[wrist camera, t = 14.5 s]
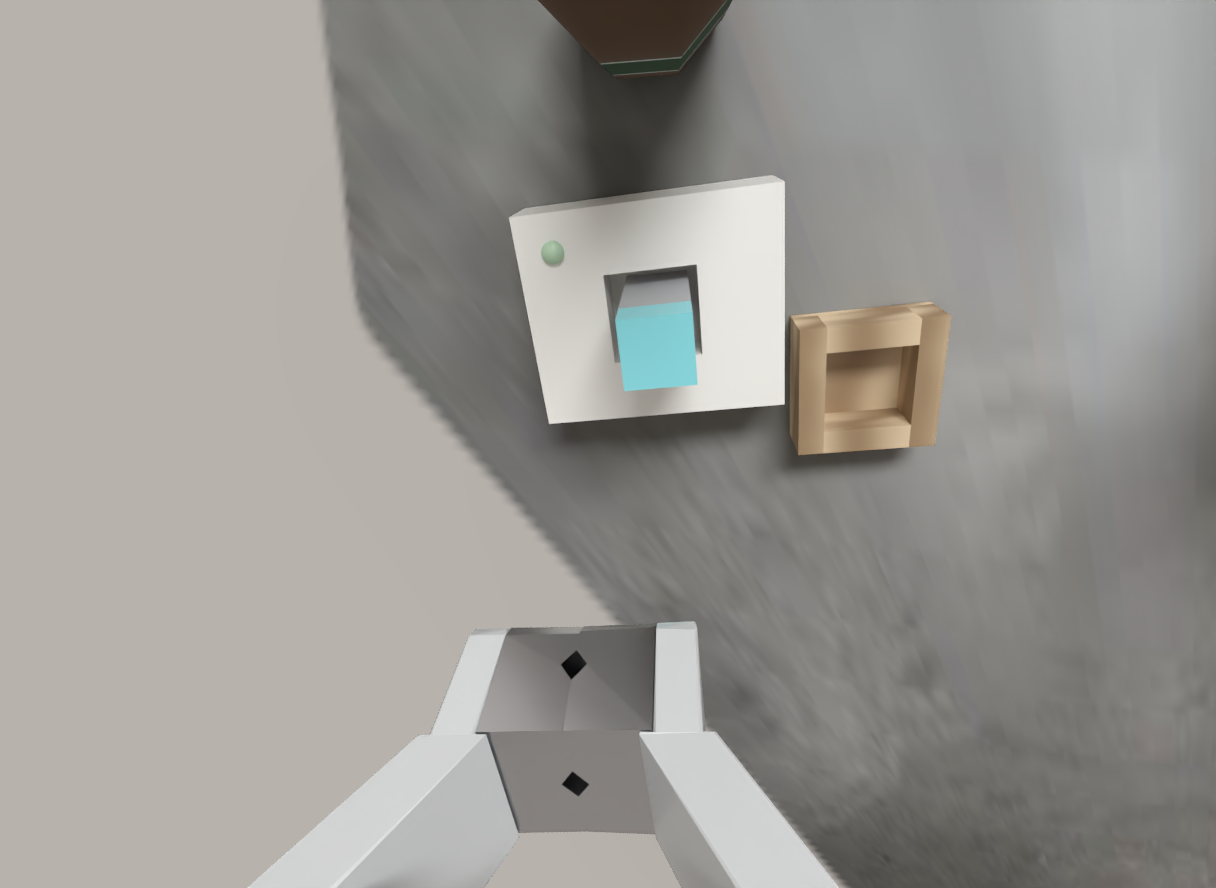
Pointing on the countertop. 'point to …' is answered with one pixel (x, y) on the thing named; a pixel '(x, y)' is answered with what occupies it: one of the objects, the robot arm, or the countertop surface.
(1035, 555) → the countertop surface
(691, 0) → the beer bottle
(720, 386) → the port
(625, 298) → the plug
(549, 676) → the robot arm
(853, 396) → the square wooden tray
